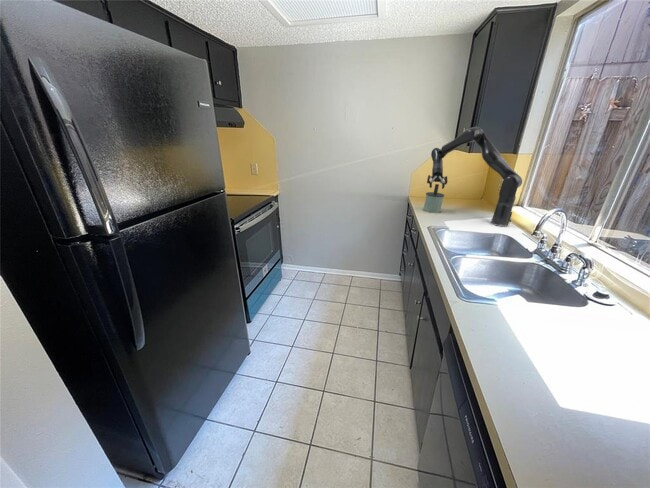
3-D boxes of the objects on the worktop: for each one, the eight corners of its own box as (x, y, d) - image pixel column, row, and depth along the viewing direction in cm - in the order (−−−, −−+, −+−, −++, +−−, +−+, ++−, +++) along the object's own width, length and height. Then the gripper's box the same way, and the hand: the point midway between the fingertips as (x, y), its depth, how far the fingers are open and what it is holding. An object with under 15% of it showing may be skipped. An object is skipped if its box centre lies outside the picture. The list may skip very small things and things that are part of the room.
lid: (440, 194, 205) (442, 183, 201) (446, 198, 193) (449, 186, 189) (423, 193, 206) (425, 182, 202) (428, 197, 193) (431, 185, 190)
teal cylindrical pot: (437, 208, 209) (440, 193, 204) (442, 213, 198) (446, 197, 193) (421, 207, 210) (424, 192, 205) (426, 212, 199) (429, 196, 193)
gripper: (429, 166, 199) (428, 184, 193) (448, 167, 196) (448, 185, 190) (426, 172, 206) (426, 190, 200) (445, 173, 203) (445, 191, 197)
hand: (436, 187), depth 195 cm, fingers open, 8 cm apart
